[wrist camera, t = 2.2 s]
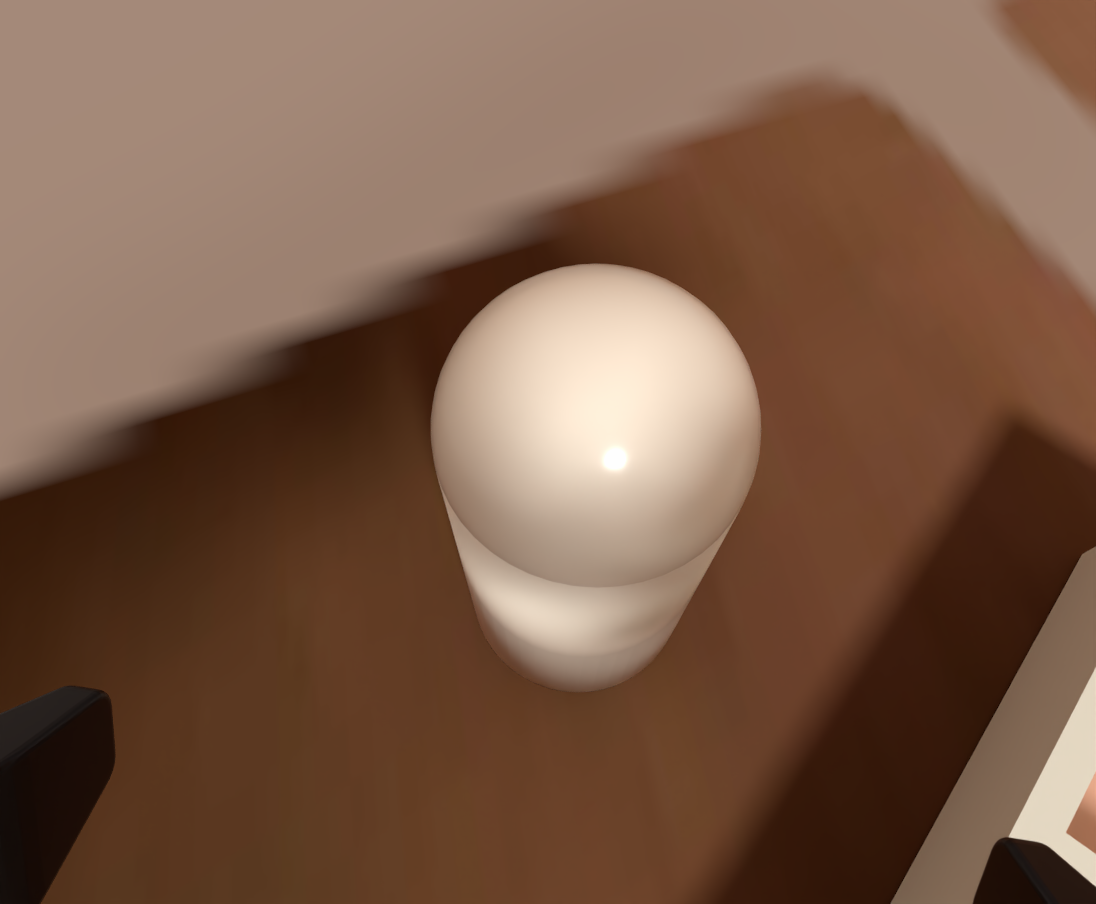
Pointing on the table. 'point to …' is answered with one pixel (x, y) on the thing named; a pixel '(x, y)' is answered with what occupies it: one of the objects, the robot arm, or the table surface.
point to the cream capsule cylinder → (591, 466)
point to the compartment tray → (1026, 762)
